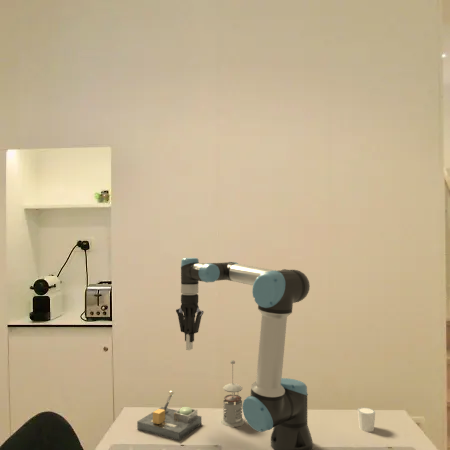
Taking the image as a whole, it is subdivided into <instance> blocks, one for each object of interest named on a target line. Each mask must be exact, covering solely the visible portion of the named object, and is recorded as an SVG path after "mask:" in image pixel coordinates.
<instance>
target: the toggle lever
mask: <svg viewBox="0 0 450 450" xmlns="http://www.w3.org/2000/svg"><path fill="white" fill-rule="evenodd" d="M167 394H168V397H167V399H166V401H165V404H164V406H163V407H164V409H163V410H165V411H166V409H167V408H168V407H169V404H170V401H171V399H172V398H173V397H174V395H175V392H174V390H169V392H168V393H167Z"/></svg>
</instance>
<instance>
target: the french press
mask: <svg viewBox="0 0 450 450" xmlns="http://www.w3.org/2000/svg"><path fill="white" fill-rule="evenodd" d="M230 364H232V373H231V374H232V381H234V364H236V361H235V360H231V361H230ZM222 389H223V390H224V392H227V393H231V394H226V395H225V396H224V397H223V399H224V400H223V402H222V405H223V412H222V413H223V417H222V419H221V420H220V423H221V424H222V425H224V426H225V427H230V428H233V427H234V428H236V427H240V426H242V425H244V424H245V420H244V418H243V400H242V396H240V394H235V393H239V392H241V391H242V390H243V386H242V385H240V384H239V383H237V382H236V383H235V382H231V383H227V384H225V385H224V386H222Z"/></svg>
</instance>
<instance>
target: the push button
mask: <svg viewBox="0 0 450 450" xmlns="http://www.w3.org/2000/svg"><path fill="white" fill-rule="evenodd" d="M179 409H180V414H184V415H189V414H191V413H192V409H193V408H192V407H190V406H183V408H182V407H181V408H179Z"/></svg>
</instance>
